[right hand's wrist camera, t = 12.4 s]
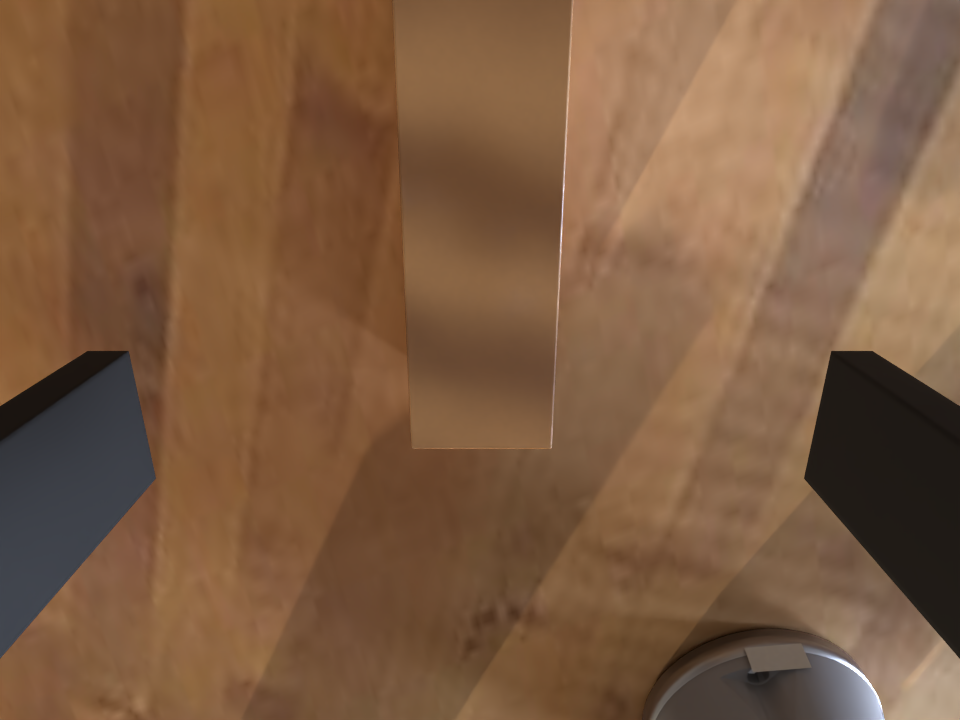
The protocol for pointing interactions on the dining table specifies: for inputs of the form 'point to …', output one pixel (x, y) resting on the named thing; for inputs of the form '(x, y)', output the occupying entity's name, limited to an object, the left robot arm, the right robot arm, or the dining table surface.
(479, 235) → the wooden beam
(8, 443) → the right robot arm
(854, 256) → the dining table surface
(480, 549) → the dining table surface
